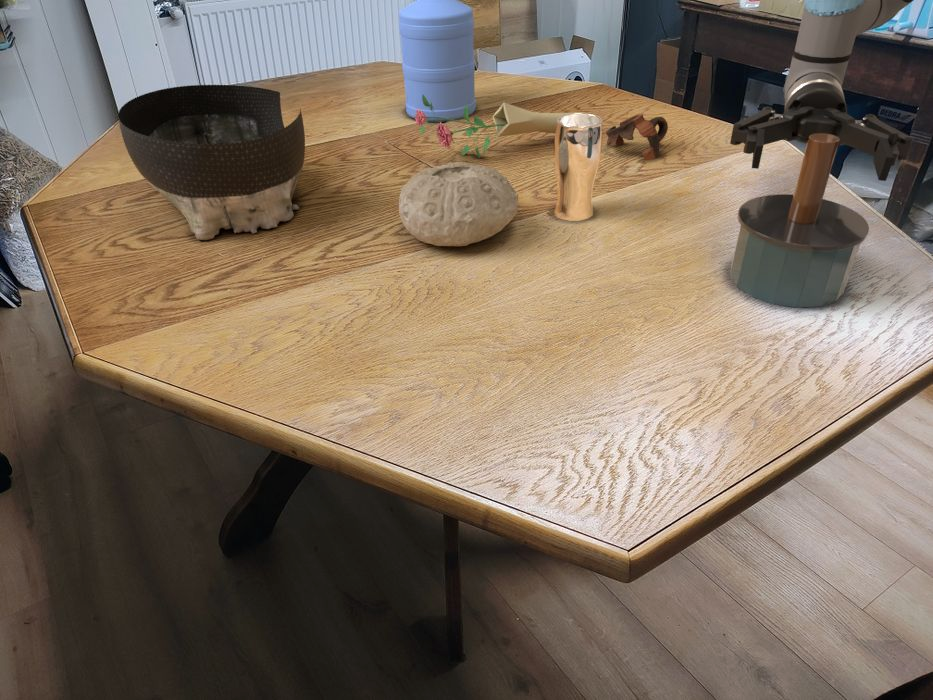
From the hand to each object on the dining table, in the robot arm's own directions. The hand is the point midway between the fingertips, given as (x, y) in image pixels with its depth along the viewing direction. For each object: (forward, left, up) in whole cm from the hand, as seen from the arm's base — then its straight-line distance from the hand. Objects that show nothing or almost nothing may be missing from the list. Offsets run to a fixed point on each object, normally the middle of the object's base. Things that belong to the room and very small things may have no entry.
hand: (820, 163), depth 79 cm
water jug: (+72, -57, -17) cm, 93 cm away
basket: (+88, -2, -17) cm, 90 cm away
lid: (0, -1, -8) cm, 8 cm away
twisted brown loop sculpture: (+26, -43, -17) cm, 53 cm away
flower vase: (+50, -37, -17) cm, 64 cm away
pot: (0, -1, -16) cm, 16 cm away
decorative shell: (+46, -2, -17) cm, 49 cm away
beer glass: (+31, -13, -17) cm, 38 cm away
